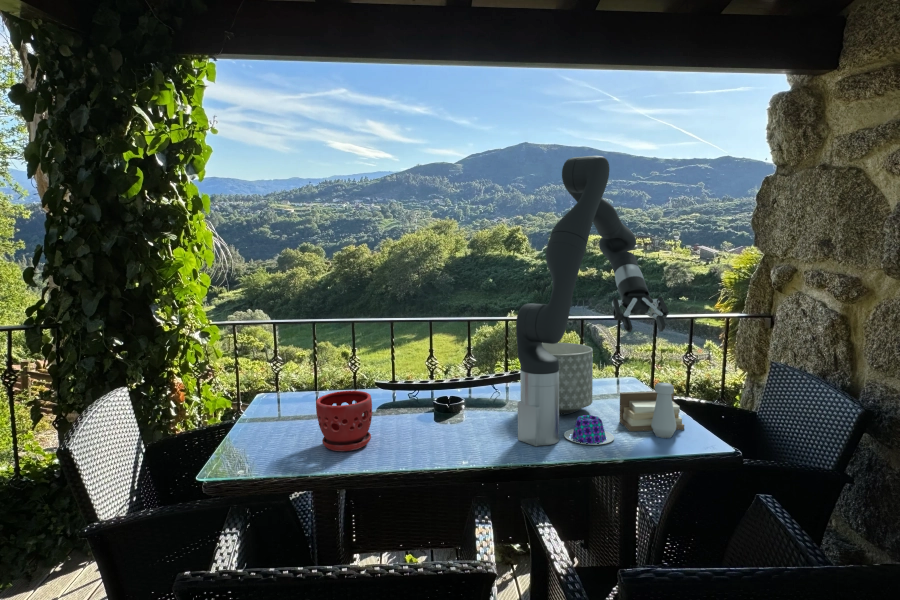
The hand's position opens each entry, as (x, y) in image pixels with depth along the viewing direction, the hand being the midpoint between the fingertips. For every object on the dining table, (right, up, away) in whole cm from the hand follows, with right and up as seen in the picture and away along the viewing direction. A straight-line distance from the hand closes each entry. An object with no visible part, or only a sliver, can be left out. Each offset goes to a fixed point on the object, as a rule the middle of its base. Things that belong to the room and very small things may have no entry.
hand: (646, 330), depth 146 cm
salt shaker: (+1, -26, -9) cm, 27 cm away
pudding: (-18, -26, -10) cm, 33 cm away
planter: (-21, -24, +13) cm, 34 cm away
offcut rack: (+1, -25, -2) cm, 25 cm away
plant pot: (-77, -27, -12) cm, 83 cm away
